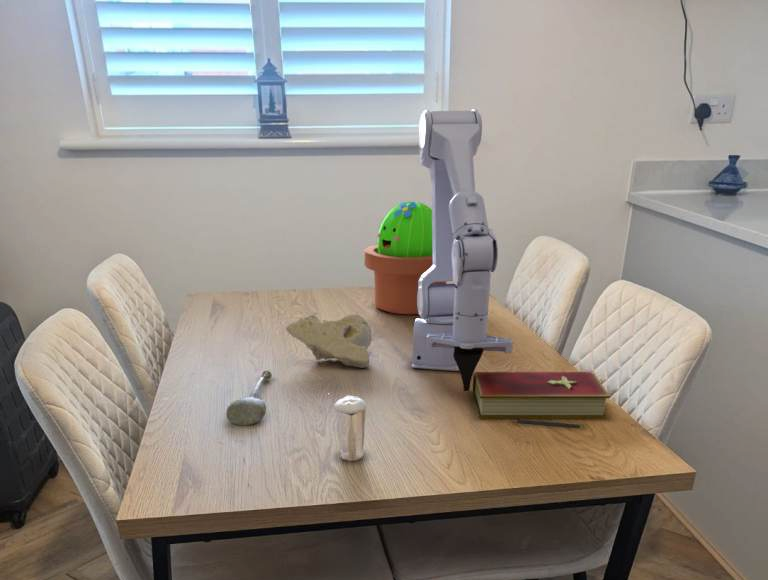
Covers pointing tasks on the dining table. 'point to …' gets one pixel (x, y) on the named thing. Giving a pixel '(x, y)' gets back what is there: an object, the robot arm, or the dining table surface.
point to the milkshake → (350, 426)
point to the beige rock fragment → (335, 338)
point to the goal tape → (549, 423)
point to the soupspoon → (248, 406)
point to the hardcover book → (539, 395)
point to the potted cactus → (401, 257)
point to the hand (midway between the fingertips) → (466, 389)
